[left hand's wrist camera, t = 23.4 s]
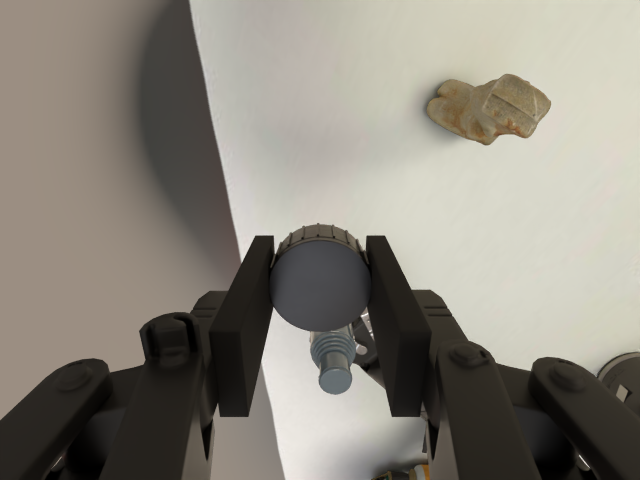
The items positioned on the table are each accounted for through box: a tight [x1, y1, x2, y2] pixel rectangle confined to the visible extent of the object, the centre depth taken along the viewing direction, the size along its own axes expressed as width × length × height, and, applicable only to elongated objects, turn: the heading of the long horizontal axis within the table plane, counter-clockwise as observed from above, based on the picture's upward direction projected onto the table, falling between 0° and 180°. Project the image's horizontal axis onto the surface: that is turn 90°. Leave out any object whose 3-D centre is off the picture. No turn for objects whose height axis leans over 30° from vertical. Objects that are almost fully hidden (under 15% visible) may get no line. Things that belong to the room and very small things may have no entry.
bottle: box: [310, 323, 356, 395], centre depth 39 cm, size 4×4×20 cm
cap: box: [269, 223, 372, 332], centre depth 14 cm, size 4×4×2 cm
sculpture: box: [427, 74, 551, 145], centre depth 34 cm, size 6×7×15 cm
